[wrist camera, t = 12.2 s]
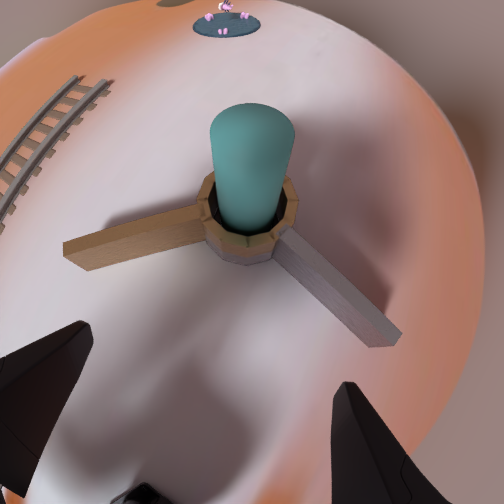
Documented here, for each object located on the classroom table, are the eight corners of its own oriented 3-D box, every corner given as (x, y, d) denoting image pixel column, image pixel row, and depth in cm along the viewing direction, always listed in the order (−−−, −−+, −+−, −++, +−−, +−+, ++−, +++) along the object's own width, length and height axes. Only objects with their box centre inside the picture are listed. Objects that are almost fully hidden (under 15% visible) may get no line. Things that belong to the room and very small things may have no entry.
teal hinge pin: (246, 258, 24) (253, 178, 13) (210, 224, 25) (192, 130, 14) (281, 224, 25) (311, 133, 14) (246, 193, 26) (251, 93, 15)
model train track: (116, 90, 32) (113, 80, 30) (-18, 282, 22) (-28, 278, 20) (73, 83, 33) (69, 74, 31) (-43, 244, 23) (-51, 239, 21)
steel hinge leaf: (346, 375, 21) (368, 379, 17) (187, 223, 25) (178, 199, 21) (395, 310, 23) (422, 302, 19) (245, 174, 27) (247, 145, 23)
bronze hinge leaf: (161, 364, 21) (144, 367, 17) (82, 263, 23) (58, 247, 19) (304, 224, 25) (316, 201, 21) (214, 149, 28) (212, 119, 24)
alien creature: (195, 16, 40) (194, -10, 34) (257, 15, 40) (260, -12, 34) (189, 41, 36) (186, 9, 30) (263, 39, 37) (266, 7, 30)
